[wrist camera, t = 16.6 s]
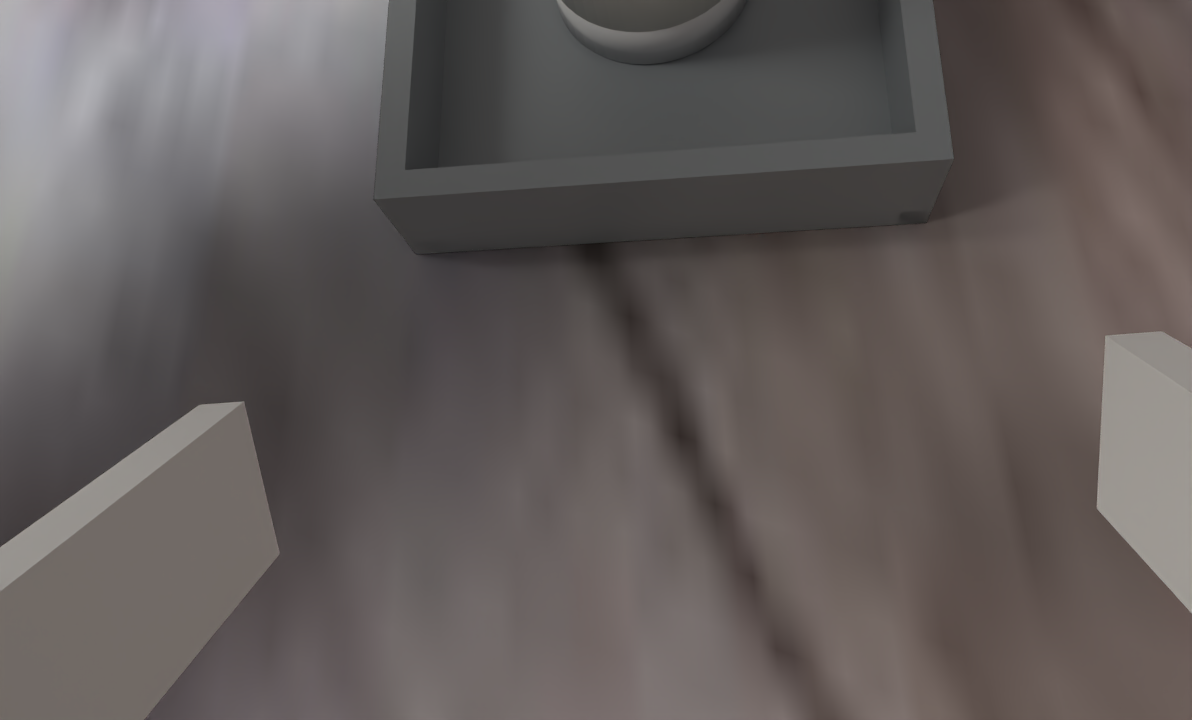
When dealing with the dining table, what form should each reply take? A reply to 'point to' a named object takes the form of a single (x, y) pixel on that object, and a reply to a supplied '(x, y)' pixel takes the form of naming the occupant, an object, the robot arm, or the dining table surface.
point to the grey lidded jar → (648, 26)
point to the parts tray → (657, 126)
